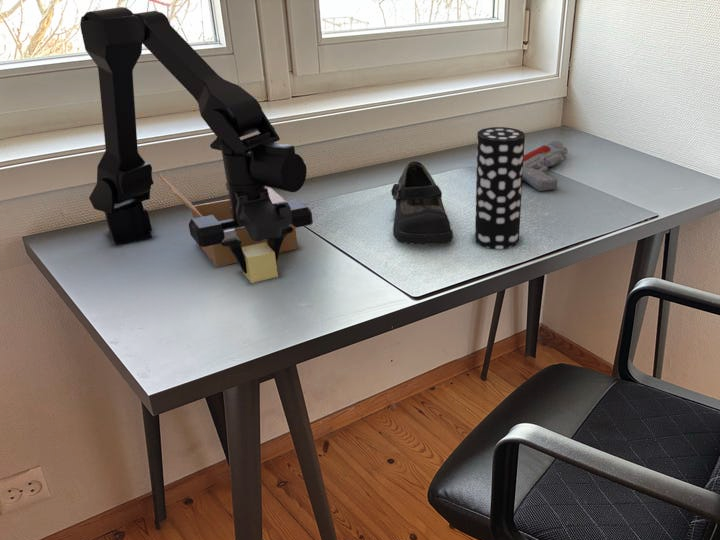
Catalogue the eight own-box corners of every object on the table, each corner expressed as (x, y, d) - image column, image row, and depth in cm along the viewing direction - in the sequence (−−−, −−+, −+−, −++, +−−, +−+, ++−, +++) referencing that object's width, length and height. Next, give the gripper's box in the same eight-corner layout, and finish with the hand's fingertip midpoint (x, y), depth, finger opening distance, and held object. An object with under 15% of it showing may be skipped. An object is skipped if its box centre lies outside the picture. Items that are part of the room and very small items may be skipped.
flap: (208, 222, 122) (207, 224, 122) (190, 202, 129) (189, 203, 129) (175, 193, 117) (174, 194, 117) (158, 173, 124) (157, 174, 124)
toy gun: (600, 151, 177) (546, 137, 183) (549, 182, 158) (489, 165, 164) (598, 165, 179) (544, 151, 185) (547, 197, 160) (488, 180, 166)
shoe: (397, 256, 132) (395, 203, 126) (385, 207, 151) (383, 159, 146) (457, 252, 134) (458, 200, 128) (438, 204, 153) (438, 157, 148)
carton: (216, 267, 126) (208, 223, 122) (198, 244, 134) (190, 202, 129) (298, 248, 133) (293, 206, 129) (276, 228, 141) (271, 187, 136)
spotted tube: (473, 231, 142) (475, 127, 131) (515, 230, 143) (521, 127, 132) (476, 249, 135) (479, 140, 124) (521, 248, 136) (528, 140, 125)
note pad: (251, 283, 122) (247, 258, 119) (242, 272, 125) (238, 247, 122) (278, 276, 124) (274, 251, 121) (268, 266, 127) (265, 242, 125)
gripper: (200, 207, 105) (218, 302, 114) (321, 185, 114) (330, 275, 123) (179, 183, 113) (198, 274, 122) (294, 164, 122) (304, 250, 130)
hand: (259, 269), depth 124 cm, fingers closed on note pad, 4 cm apart
